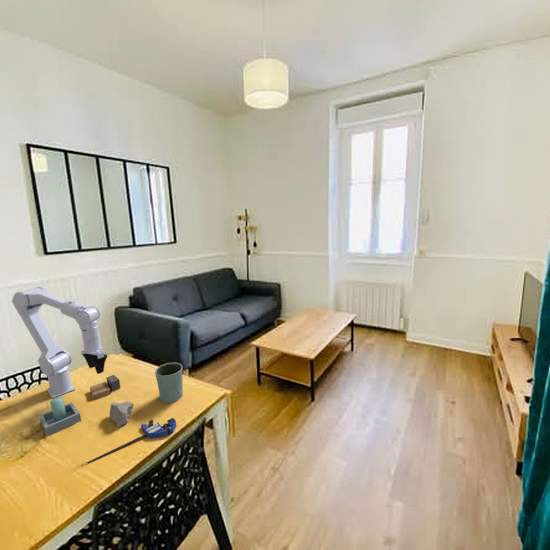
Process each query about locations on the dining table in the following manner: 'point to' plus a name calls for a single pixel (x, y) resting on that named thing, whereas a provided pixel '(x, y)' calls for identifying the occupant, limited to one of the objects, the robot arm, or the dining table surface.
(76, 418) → the tray
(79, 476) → the dining table surface
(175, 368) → the grey green cup
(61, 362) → the robot arm
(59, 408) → the dowel
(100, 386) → the tan cardboard box
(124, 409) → the stone
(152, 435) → the bar clamp
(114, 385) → the dark grey block
